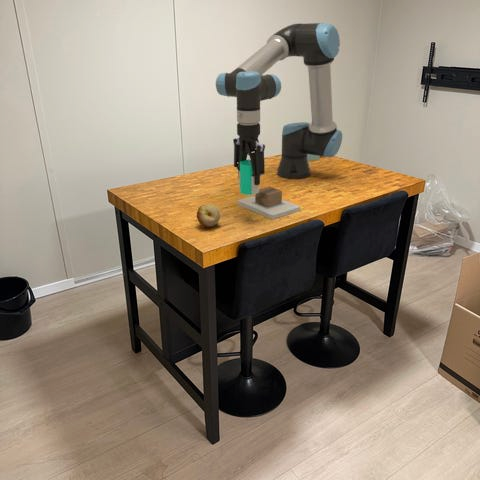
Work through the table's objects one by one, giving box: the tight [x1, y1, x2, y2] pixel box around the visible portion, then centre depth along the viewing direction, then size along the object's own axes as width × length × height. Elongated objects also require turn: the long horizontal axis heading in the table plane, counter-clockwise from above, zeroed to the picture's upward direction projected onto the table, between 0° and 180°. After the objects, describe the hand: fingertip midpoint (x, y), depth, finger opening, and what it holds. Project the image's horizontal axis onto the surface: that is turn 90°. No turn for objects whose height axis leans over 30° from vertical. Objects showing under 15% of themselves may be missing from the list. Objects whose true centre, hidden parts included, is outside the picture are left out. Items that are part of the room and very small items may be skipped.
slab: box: [236, 195, 302, 220], centre depth 174 cm, size 20×14×2 cm
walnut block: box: [254, 185, 283, 208], centre depth 172 cm, size 7×7×5 cm
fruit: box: [196, 203, 221, 228], centre depth 156 cm, size 8×8×8 cm
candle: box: [239, 159, 257, 196], centre depth 156 cm, size 6×6×12 cm
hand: (249, 190), depth 158 cm, fingers closed on candle, 6 cm apart
